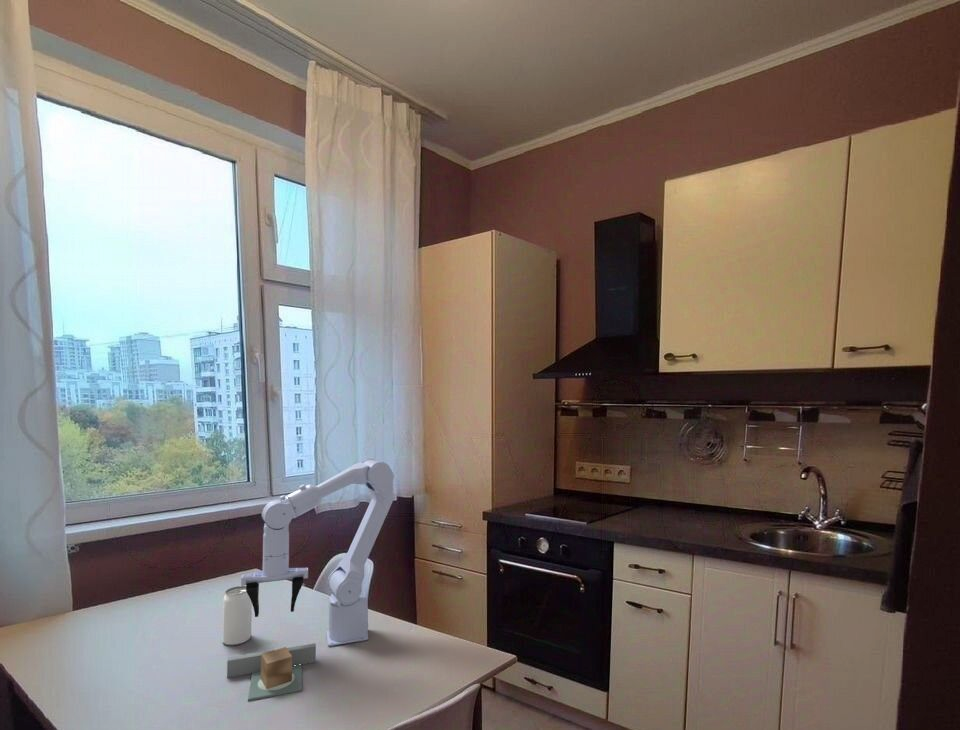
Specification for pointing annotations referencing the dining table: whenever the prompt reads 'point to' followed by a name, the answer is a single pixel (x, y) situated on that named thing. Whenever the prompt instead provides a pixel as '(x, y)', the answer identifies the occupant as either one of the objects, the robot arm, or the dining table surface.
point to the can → (236, 616)
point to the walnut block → (276, 667)
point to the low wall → (253, 661)
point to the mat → (260, 691)
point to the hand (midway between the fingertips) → (274, 612)
